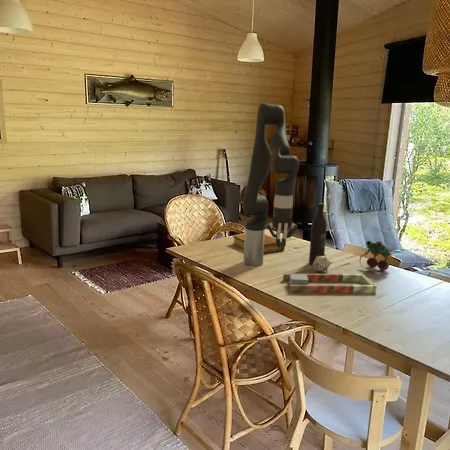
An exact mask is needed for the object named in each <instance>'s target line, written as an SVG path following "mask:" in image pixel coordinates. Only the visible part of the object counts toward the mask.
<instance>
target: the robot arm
mask: <svg viewBox="0 0 450 450" xmlns="http://www.w3.org/2000/svg"><path fill="white" fill-rule="evenodd" d="M285 115H286V113H285V110H284V107H283V106H282V105H280V104H274V103H267V102H262V103H260V104H259V107H258V110H257V117H256V128H255V134H254V135H255V137H254V143H253V149H252V153H251V154H252V155H251V160H250V161H251V162H250V167H249V175H248V180H247V185H246V188H245V189H246V190H245V192H244V197H243V201H242V209H243V210H242V211H243V213H244V214H245V215H246V216H252V217H251V218H250V219H249V220H248V221H246V223H245V233H244V234H245V243H244V250H243V263H244V265H245V266H250V267H251V266H252V267H254V266H255V267H257V266H261V265H263V264H264V255H265V254H264V234H265V233H266V232H265V231H266V228H267V230H268V232H269V233H270V235H271V237H272V238H275V239H276V246H277V247H278V248H280V241H282V244H281V247H282V248H284V249H285V247H286V245H287V239H290V238H292V236H293V234H294V233H295V232H296V230H297V229H298V225H297V224H296V223H294V221H293V219H292V218H293V205H294V204H293V203H294V201H293V200H294V199H293V197H294V196H293V194H294V183H295V180H296V177H297V173H298V172H299V168H300V160H299V158H298V157H297V156H296V155H291V147H290V144H289V139H288V137H287V126H286V116H285ZM266 126H269V127H276V130H275V131H274V133H273V134H272V136H271V138H270V145H271V147H270V145H269V143H268V140H267V138H266V131H265V130H266V129H265V128H266ZM271 168H272V170H273V172H274V173H275V174H283V175H287V176H286V177H284V178H279V179H277V181H275V184H274V185H275V188H274V198H273V209H272V210H273V212H272V213H273V214H272V215H273V216H272V219H271V222H269V223H267V222H268V214H269V201H268V198H267V197H266V196H265V195H263V194H259V190H260V188H261V186H262V184H263V182H265V180H266V178H267V177H268V175H269V173H270V171H271ZM273 227H274V229H275V230H276V231H275V232H274V230H273ZM289 228H290V230H289ZM288 230H289V231H288ZM281 231H282V232H281ZM281 233H282V237H281ZM265 235H266V234H265ZM284 246H285V247H284Z"/></svg>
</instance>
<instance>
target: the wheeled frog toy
mask: <svg viewBox="0 0 450 450" xmlns="http://www.w3.org/2000/svg"><path fill="white" fill-rule="evenodd" d="M366 246H367V248H368V249H367V250H366V251H365V253H364V254H362V255H360V257H359V264H360V266H361V267H363V266H362V262H361V261H362V260H361V259H362V257H364V256H367V255H368V254H369V252H370V253H371V254H372V255H373V257H368V259H366V265H367V266H368V267H370V268H371V269H373V268H378V269H379V270H381V271H370V270H367V269H366V268H364V271H367V272H369V273H373V274H379V273H383V272H384V271H387V270H388V269H389V267H390V262H389V259H390V258H392V255H393V254H392V252H391V251H390V250H389V249H388V247H386V246H385V245H384V244H383V243H382V242H381V241H380V240H379V241H376V242H372V240H367V241H366ZM379 255H381V256H382V257H383V258H384V260H383V259H381V260H379V261H378V260H377V259H376V257H378V256H379Z"/></svg>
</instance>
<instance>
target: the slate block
mask: <svg viewBox="0 0 450 450" xmlns="http://www.w3.org/2000/svg"><path fill="white" fill-rule="evenodd" d="M289 274H290V277H289V281H288V283H289V286H290V285H309V281H308V277H307V275H306V274H307V273H289Z"/></svg>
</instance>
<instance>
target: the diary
mask: <svg viewBox="0 0 450 450" xmlns="http://www.w3.org/2000/svg"><path fill="white" fill-rule="evenodd" d="M232 238H234V239H233V242H232V245H233V246H235V247H238V249H242V250H243V251H244V243H245V233H241V234H234V235H233V234H232ZM281 244H282V240H280V248H278V247H277V246H276V238H274V237H273V236H269V235H267V234H264V254H263V255H266V254H272V253H273V252H274V253H280V252H284V251H285V248H286V246H284V248H282V247H281Z"/></svg>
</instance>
